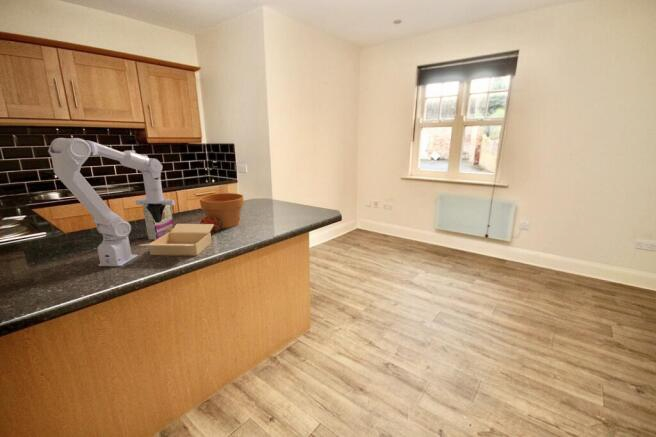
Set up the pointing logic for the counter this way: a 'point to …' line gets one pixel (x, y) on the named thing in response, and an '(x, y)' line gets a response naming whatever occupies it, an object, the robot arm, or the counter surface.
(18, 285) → the counter surface
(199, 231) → the far flap
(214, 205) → the flower pot
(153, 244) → the near flap
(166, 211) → the candy bar box
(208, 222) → the dragon fruit
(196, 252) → the carton
